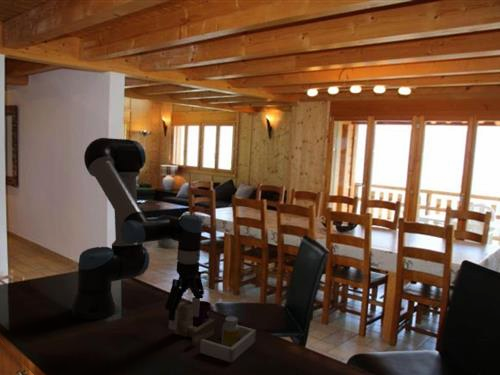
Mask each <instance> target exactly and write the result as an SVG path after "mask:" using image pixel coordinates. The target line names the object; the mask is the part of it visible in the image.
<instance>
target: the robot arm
mask: <svg viewBox="0 0 500 375" xmlns="http://www.w3.org/2000/svg"><path fill="white" fill-rule="evenodd" d="M84 151H85V152H84V156H83V158H84V159H83V160H84V165H85V168H86V170H87V171H88V173H89V175H90V176H92V177H94V178H95V179H96V181H97V183H98V185H99V186H100V188H101V189H102V191H103V193H104V195H105V196H106V198H107V200H108V201H109V203H110V205H111V206H112V208H113V210H114V230H115V240H114V241H113V242H112V244H111V247H108V246H95V247H91V248H87V249H85V250H83V251H82V252H81V253H80V255H79V259H78V264H77V265H78V266H77V267H78V271H77V272H78V276H77V277H78V278H77V293H76V295H75V298H74V301H73V304H72V305H71V315H72V316H73V317H74V318H76V319H80V320H87V321H90V320H91V321H93V320H102V319H105V318H108V317H112V316H113V315H114V313H115V312H116V304H115V302H114V297H113V293H112V282H117V281H121V280H125V279H133V278H136V277H140V276H142V275H143V274H145V273H146V271H147V270H148V269H149V266H150V253H149V252H148V249H147V248H146V247H145V246H143V243H149V242H156V241H164V240H172V241H175V242H177V243H178V244H177V255H176V256H177V257H176V259H177V262H176V273H177V274H178V278H177V279H176V278H173V279H172V282H171V288H170V291H169V294H168V297H167V300H166V303H165V306H164V309H165V310H166V311H168V329H169V330H173V331H174V330H177V317H178V310H176V309H177V307H178V305H179V303H181V302H182V301H181V300H182V298H183V296H184V294H185V293H187V290H190V291H191V293H192V295H193V297H192V298H191V302H192V305H194V314H193V316H195V317H199V306H200V301H201V299H203V298H204V295H205V289H204V286H203V282H202V272H201V271H200V259H201V258H200V257H201V245H202V234H203V218H202V217H201V216H199V215H192V214H183V215H181V216H180V217H179V218H177V217H173V216H172V215H164V214H163V215H160V216H158V217H157V218H147V216H146V214H144V212H143V211H142V210H141V208H140V206H139V203H138V196H137V195H138V192H137V188H138V187H137V177H138V176H140V174H141V170H142V169H143V168H144V167H145V163H146V158H147V156H146V151H145V149H144V146H143V145H141V143H140V142H139V141H137V140H131V139H127V138H126V139H125V138H124V139H123V138H110V137H100V138H96V139H94V140H93V141H91V142H90V143H89V144H88V146H87V147H86V149H85V150H84Z"/></svg>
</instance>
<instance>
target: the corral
mask: <svg viewBox="0 0 500 375" xmlns="http://www.w3.org/2000/svg"><path fill="white" fill-rule="evenodd" d="M237 325H238V326H239V333H238V342H237V343H236V344H234V345H233V346H232V347H228V346H224V345H221V343H218V342H214V341H211V340H207V339H206V340H204V339H202V340H201V343H200V344H199V346H200V347H199V354H203V355H206V356H209V357H213V358H215V359H219V360H222V361H225V362H228V363H230V364H231V363H233V362H234V361H236V359H238V357H240V356H241V355H242V354H243V353H244V352H246V351H247V350H248V349H249V348H250V347H251V346H252V345H253V344H254V343H255V342H256V341H257V340H256V337H257V329H254V328H251V327H250V328H249V327H246V326H243V325H239V324H237Z"/></svg>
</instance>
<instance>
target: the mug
mask: <svg viewBox="0 0 500 375" xmlns="http://www.w3.org/2000/svg"><path fill="white" fill-rule="evenodd" d="M187 303H188V304H192V301H188V302H187ZM211 310H212V304H211V303H210V302H209V301H208V300H207V301H205V300H200V306H199V317H195V316H193V325H194V326H200V325H202V324H204V323H205V322H207V321H208V320H210V319H211Z"/></svg>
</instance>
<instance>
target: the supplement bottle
mask: <svg viewBox="0 0 500 375" xmlns="http://www.w3.org/2000/svg"><path fill="white" fill-rule="evenodd" d="M238 325H239V324H238V318H237V317H235V316H233V315H232V316H226V317H225V319H224V323H223V325H222V328H221V329H222V330H221V340H220V341H221V342H220V344H221V345H224V346H228V347H232V346H233V345H234V344H236V343H237V342H238V341H239V338H238V333H239V326H238Z"/></svg>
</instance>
